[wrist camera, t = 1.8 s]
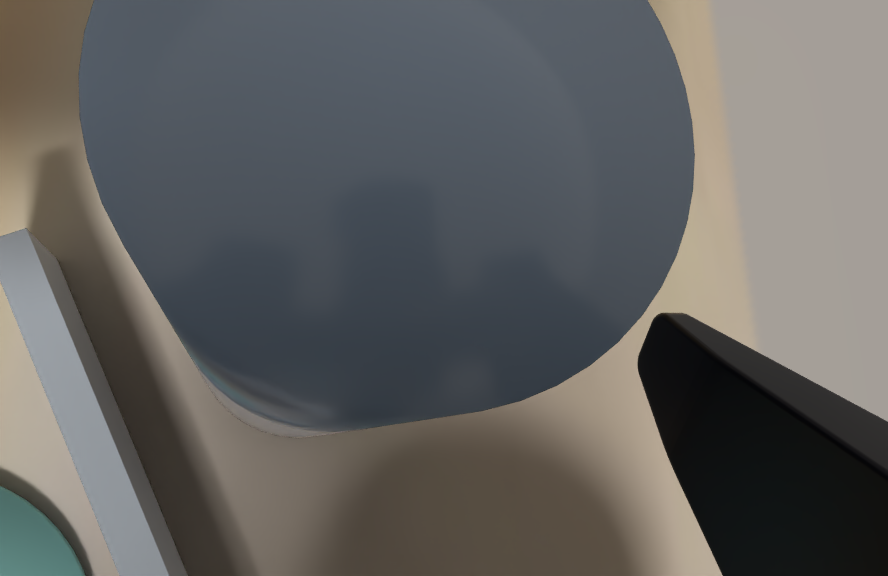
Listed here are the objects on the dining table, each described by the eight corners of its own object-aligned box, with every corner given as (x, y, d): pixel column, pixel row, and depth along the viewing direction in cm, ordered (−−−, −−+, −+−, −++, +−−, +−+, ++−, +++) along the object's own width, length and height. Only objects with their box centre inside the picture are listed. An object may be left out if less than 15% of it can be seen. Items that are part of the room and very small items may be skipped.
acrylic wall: (254, 736, 16) (255, 787, 14) (219, 757, 16) (215, 813, 13) (56, 258, 17) (25, 228, 15) (21, 270, 17) (-16, 241, 14)
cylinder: (432, 385, 19) (785, 268, 6) (244, 474, 17) (245, 545, 5) (353, 210, 19) (544, -206, 7) (162, 280, 17) (-29, -109, 5)
